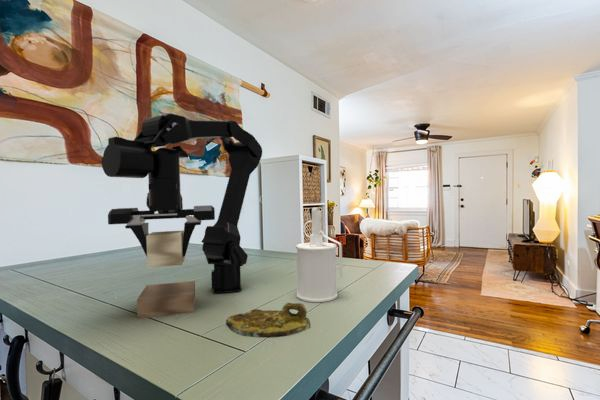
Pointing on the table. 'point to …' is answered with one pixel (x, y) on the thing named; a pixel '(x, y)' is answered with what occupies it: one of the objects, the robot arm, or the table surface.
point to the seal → (270, 322)
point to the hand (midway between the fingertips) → (167, 257)
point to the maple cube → (165, 248)
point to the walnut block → (166, 299)
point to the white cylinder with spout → (317, 264)
